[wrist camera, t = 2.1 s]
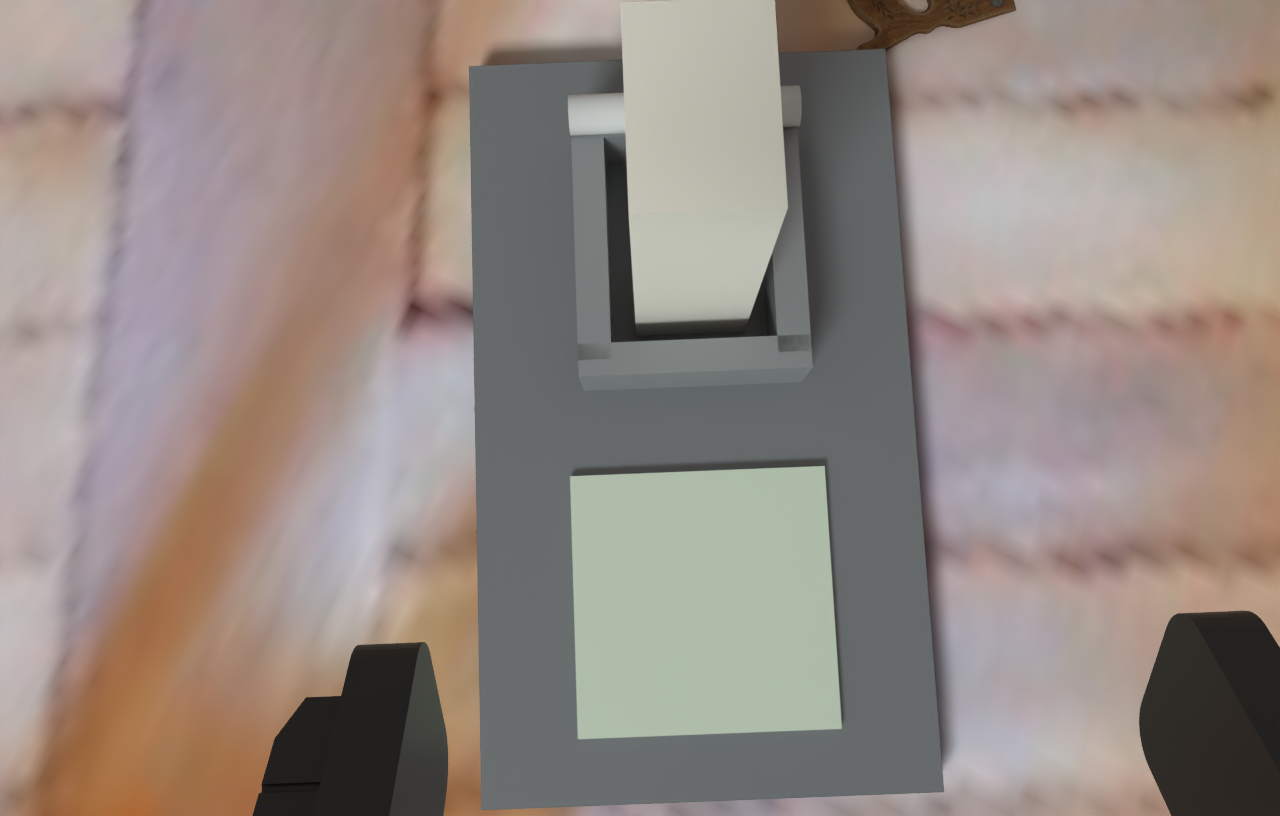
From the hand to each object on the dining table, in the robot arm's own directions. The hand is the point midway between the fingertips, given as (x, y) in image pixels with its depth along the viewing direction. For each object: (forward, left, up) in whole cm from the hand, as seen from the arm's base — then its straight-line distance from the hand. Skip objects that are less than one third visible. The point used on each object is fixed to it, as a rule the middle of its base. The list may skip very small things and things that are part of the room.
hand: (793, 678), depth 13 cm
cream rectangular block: (-11, -5, -23) cm, 26 cm away
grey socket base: (-6, -3, -24) cm, 25 cm away
